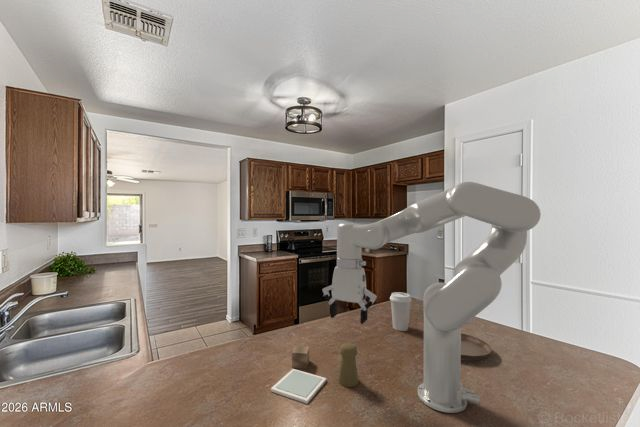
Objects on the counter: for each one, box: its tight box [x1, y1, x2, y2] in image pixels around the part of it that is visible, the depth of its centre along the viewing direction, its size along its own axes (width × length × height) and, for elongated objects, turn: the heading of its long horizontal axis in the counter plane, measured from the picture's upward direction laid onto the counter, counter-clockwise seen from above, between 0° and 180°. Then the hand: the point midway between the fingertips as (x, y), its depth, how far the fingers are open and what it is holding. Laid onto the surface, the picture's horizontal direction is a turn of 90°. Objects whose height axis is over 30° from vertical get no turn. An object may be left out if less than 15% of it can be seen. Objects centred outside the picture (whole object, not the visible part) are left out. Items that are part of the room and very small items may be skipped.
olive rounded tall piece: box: [338, 342, 359, 388], centre depth 88 cm, size 6×6×11 cm
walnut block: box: [291, 345, 310, 369], centre depth 98 cm, size 5×5×5 cm
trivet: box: [270, 368, 327, 405], centre depth 86 cm, size 12×12×1 cm
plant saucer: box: [461, 332, 492, 362], centre depth 109 cm, size 21×21×3 cm
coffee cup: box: [389, 291, 412, 332], centre depth 129 cm, size 10×10×15 cm
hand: (348, 319), depth 88 cm, fingers open, 9 cm apart
